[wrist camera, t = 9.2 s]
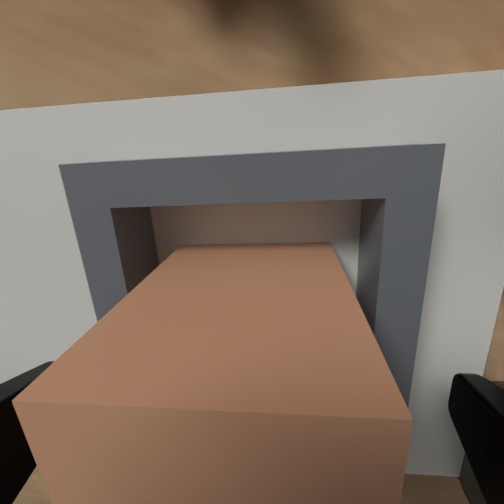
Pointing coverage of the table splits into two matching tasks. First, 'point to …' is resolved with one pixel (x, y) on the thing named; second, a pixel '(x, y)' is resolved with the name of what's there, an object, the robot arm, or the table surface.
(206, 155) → the chassis
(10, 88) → the table surface
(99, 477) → the tan rectangular block
